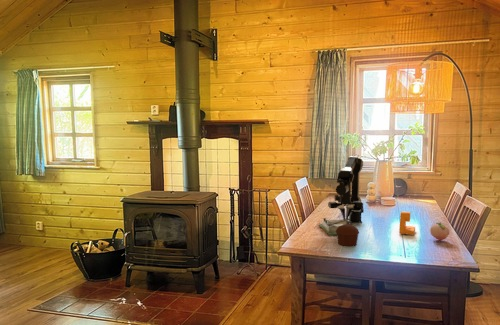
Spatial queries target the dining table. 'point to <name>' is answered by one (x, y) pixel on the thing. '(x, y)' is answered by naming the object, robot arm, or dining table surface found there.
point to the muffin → (347, 235)
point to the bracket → (403, 228)
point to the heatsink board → (331, 229)
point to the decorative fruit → (439, 231)
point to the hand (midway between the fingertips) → (345, 219)
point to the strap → (337, 222)
